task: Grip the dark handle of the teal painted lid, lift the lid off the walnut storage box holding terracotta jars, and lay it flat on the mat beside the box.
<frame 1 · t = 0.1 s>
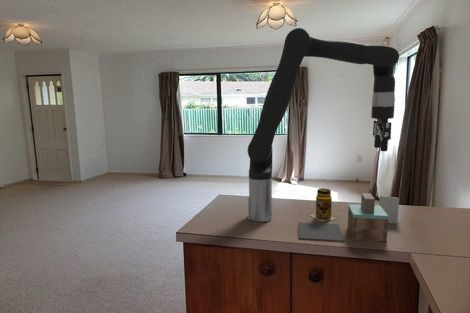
hand: (380, 149, 121), 29 cm above the countertop, tool pointing down, fingers open, 8 cm apart
condiment: (322, 217, 134), on the countertop
grey rectangular block: (387, 221, 128), on the countertop
mat: (319, 232, 119), on the countertop
lid: (367, 213, 115), point 8 cm above the countertop, touching storage box
storage box: (366, 234, 116), on the countertop
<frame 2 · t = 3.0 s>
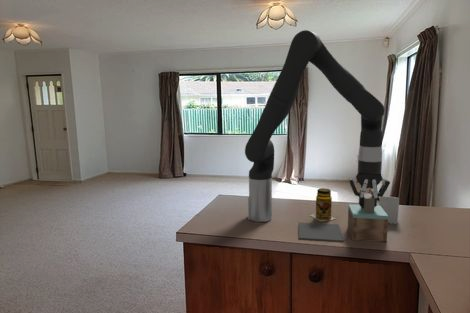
hand: (367, 207, 114), 10 cm above the countertop, tool pointing down, fingers closed on lid, 3 cm apart
lid: (367, 213, 115), point 8 cm above the countertop, touching gripper, storage box
everything else where it was.
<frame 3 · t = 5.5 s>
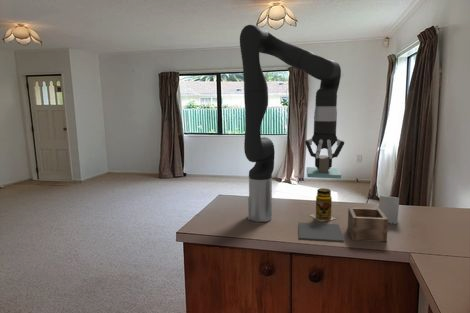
hand: (323, 168, 115), 24 cm above the countertop, tool pointing down, fingers closed on lid, 3 cm apart
lid: (322, 174, 115), point 22 cm above the countertop, touching gripper
everything else where it was.
when the fingers open (4 cm above the countertop, at t = 8.4 s): lid drops 2 cm, resting on mat.
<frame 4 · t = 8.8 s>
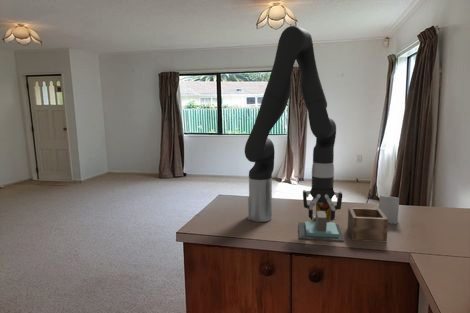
hand: (321, 219, 118), 5 cm above the countertop, tool pointing down, fingers open, 6 cm apart
lid: (321, 230, 119), resting on mat
everything else where it was.
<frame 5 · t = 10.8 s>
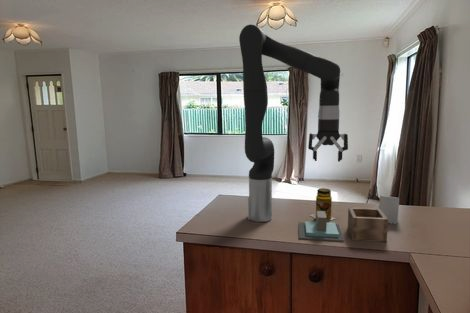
hand: (327, 160, 124), 25 cm above the countertop, tool pointing down, fingers open, 8 cm apart
nothing on the countertop moved.
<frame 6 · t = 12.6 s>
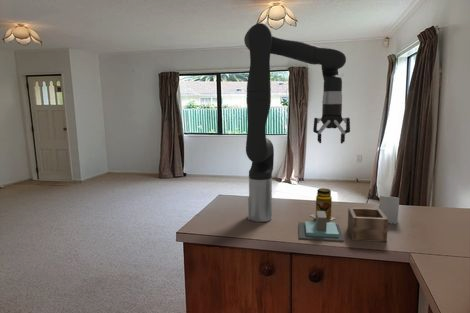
hand: (330, 143, 133), 30 cm above the countertop, tool pointing down, fingers open, 8 cm apart
nothing on the countertop moved.
at the end: lid inside the target area on the mat (0.6 cm from its centre), point 0.5 cm above the mat's base; lid tilted 0°; the gripper is holding nothing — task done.
